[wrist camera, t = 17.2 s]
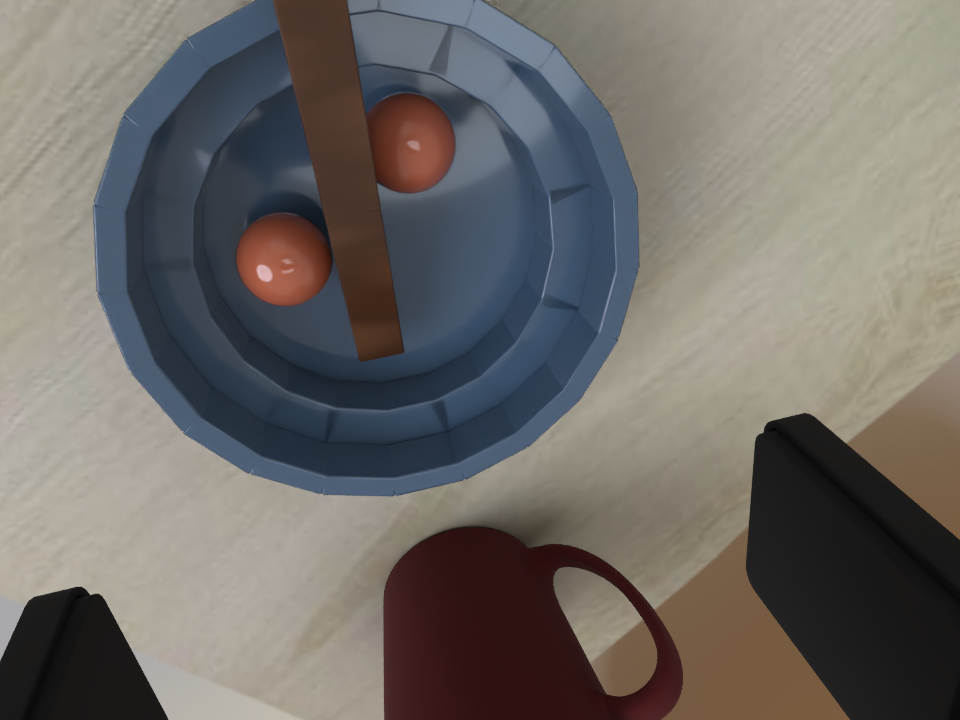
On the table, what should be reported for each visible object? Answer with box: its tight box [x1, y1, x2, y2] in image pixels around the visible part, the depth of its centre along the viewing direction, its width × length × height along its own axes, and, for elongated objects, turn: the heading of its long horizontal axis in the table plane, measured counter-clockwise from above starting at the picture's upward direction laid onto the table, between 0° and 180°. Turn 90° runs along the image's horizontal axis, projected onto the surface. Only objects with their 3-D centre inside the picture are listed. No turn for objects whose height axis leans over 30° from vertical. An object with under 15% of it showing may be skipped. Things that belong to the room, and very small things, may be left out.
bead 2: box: [366, 92, 456, 194], centre depth 22 cm, size 3×3×3 cm
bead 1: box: [235, 212, 333, 307], centre depth 23 cm, size 3×3×3 cm
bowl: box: [93, 0, 639, 496], centre depth 23 cm, size 16×16×5 cm
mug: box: [384, 527, 683, 720], centre depth 29 cm, size 12×9×11 cm
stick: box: [272, 0, 404, 362], centre depth 18 cm, size 2×2×20 cm
